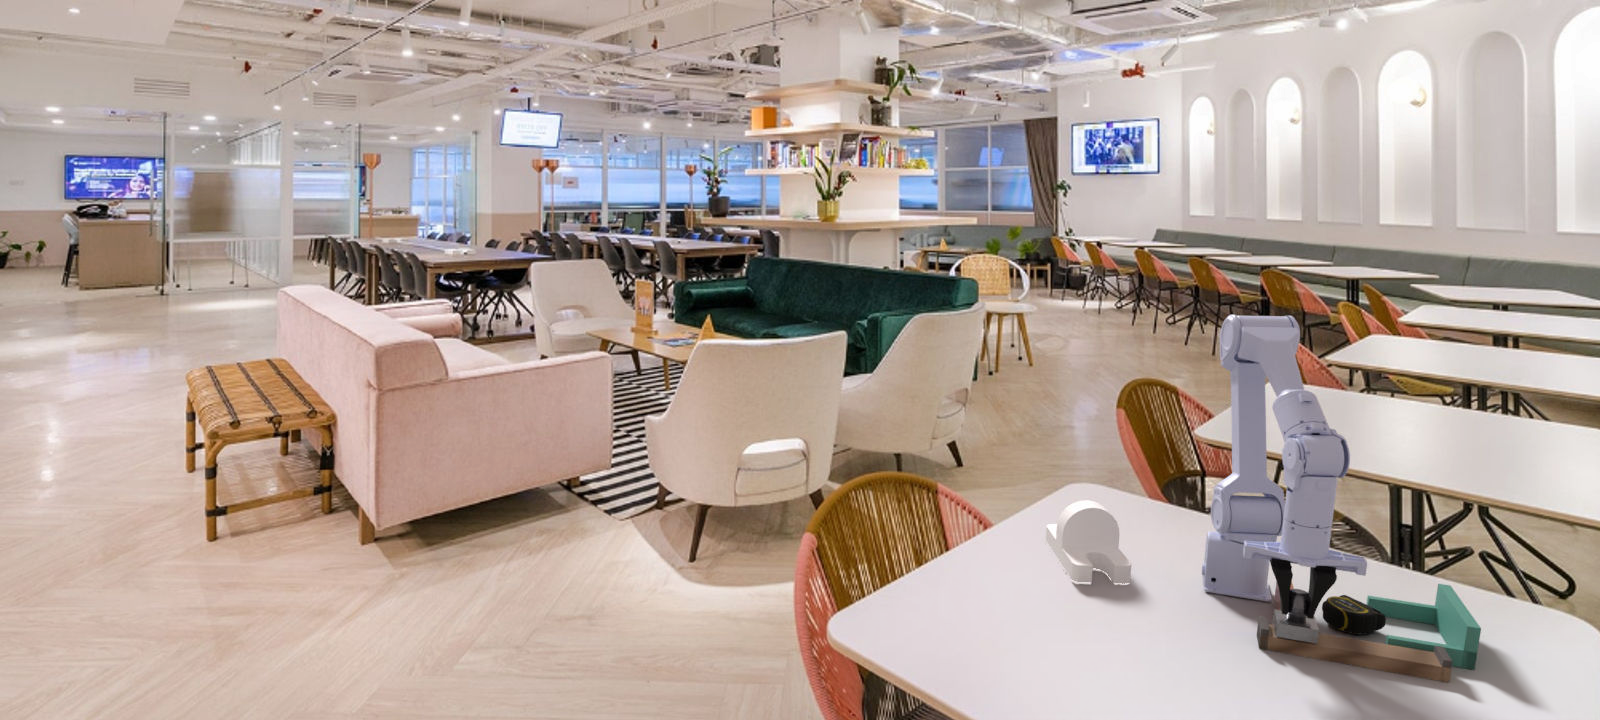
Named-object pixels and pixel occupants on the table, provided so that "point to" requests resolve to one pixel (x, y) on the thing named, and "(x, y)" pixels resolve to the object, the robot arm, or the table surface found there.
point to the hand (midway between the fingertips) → (1296, 613)
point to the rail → (1361, 653)
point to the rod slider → (1294, 617)
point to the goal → (1437, 624)
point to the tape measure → (1352, 615)
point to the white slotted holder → (1088, 543)
